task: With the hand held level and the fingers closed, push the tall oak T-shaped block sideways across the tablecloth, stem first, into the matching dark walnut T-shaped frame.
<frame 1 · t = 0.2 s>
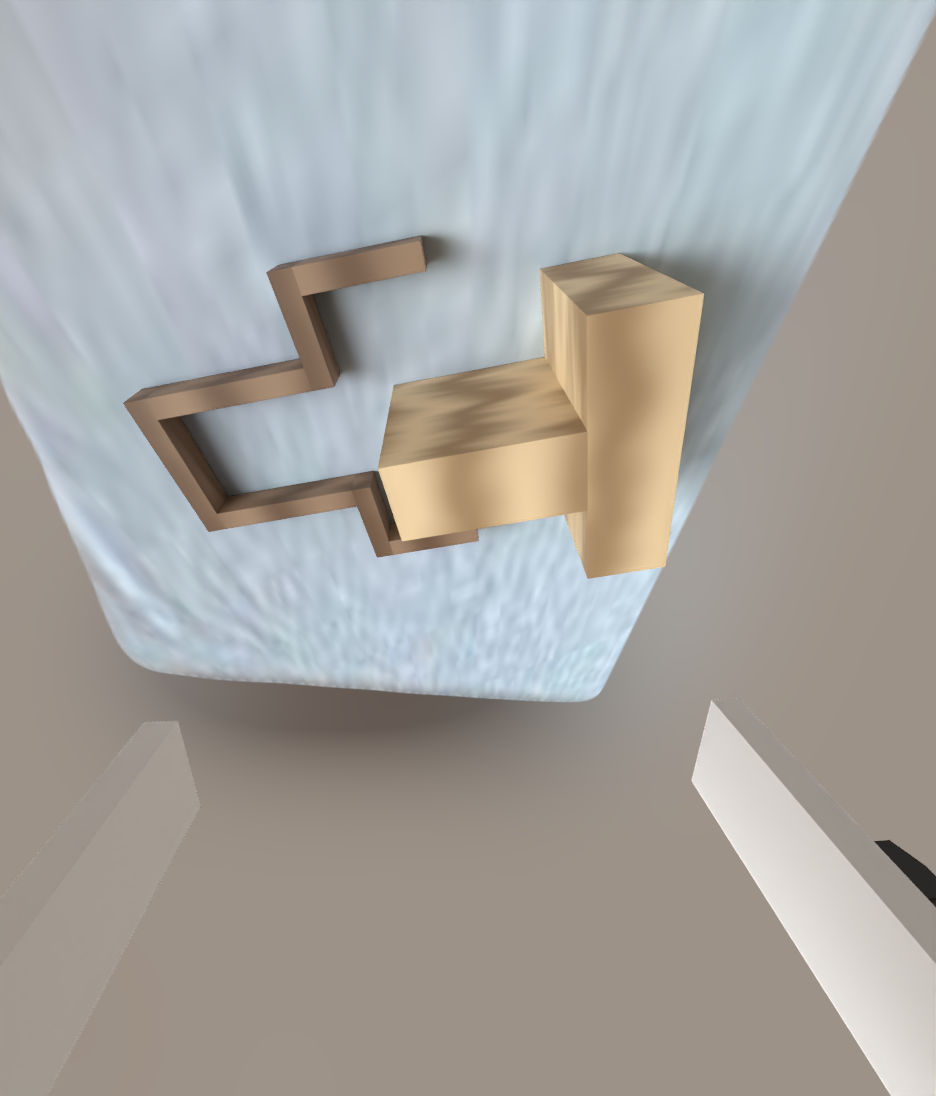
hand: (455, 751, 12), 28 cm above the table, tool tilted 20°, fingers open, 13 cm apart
oak T block: (506, 398, 35), on the table
walnut T frame: (326, 431, 36), on the table
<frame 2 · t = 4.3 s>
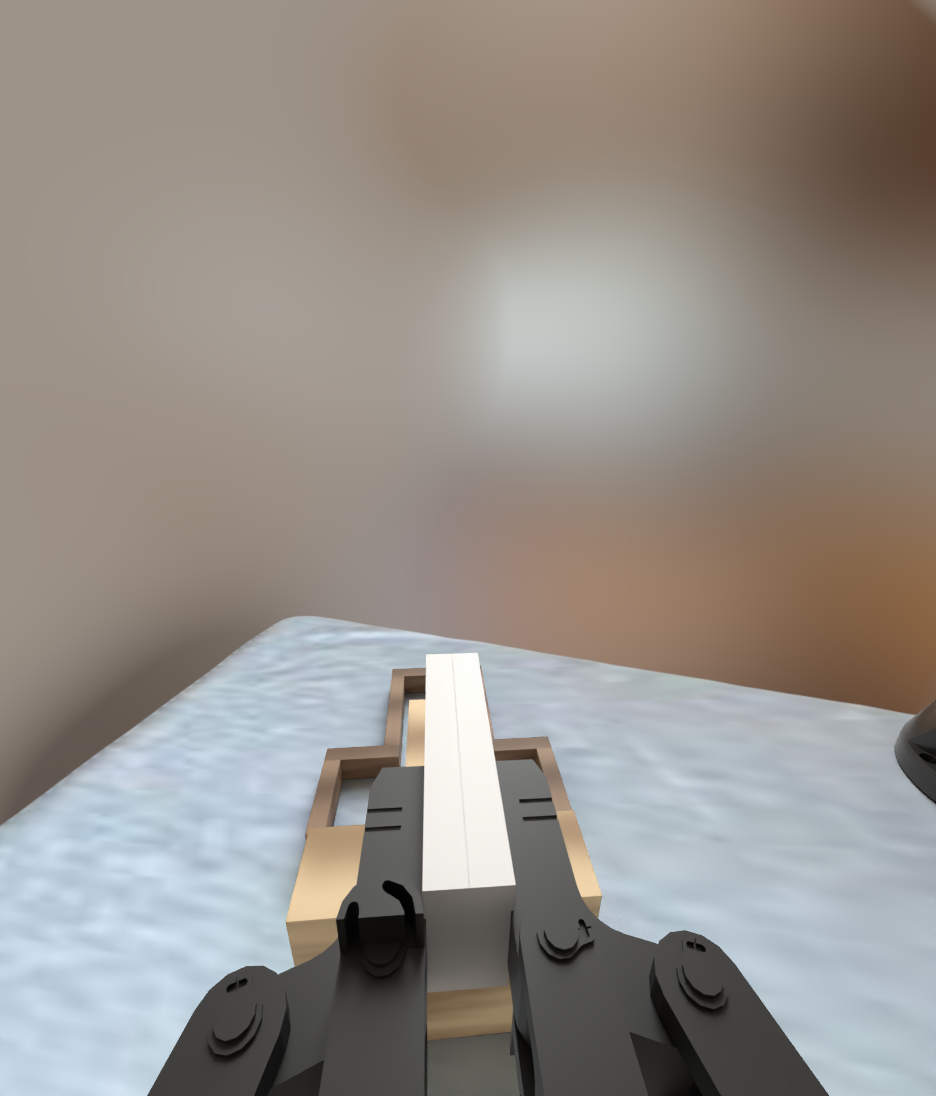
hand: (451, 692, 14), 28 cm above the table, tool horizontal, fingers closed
oak T block: (444, 896, 35), on the table
walnut T frame: (439, 754, 48), on the table
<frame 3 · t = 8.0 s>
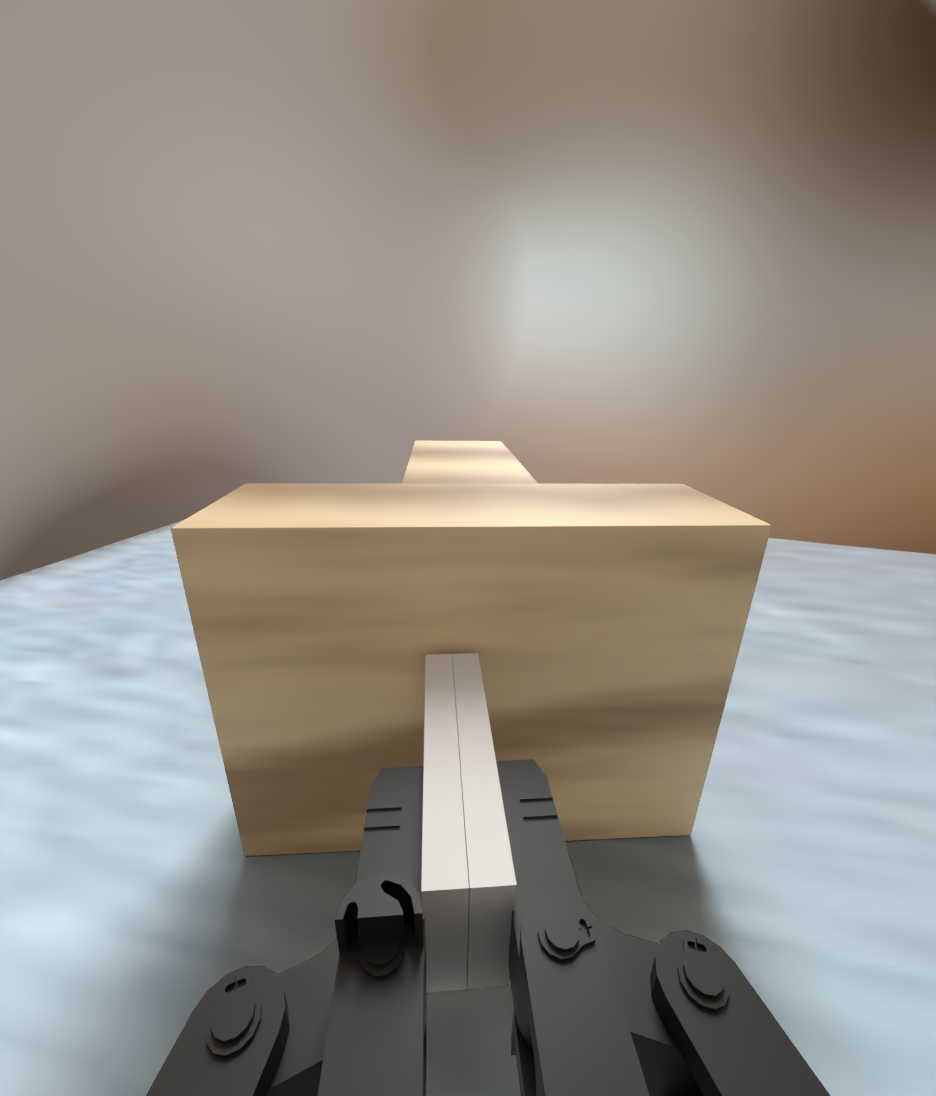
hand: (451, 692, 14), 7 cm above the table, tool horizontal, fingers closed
oak T block: (463, 698, 24), on the table, touching gripper
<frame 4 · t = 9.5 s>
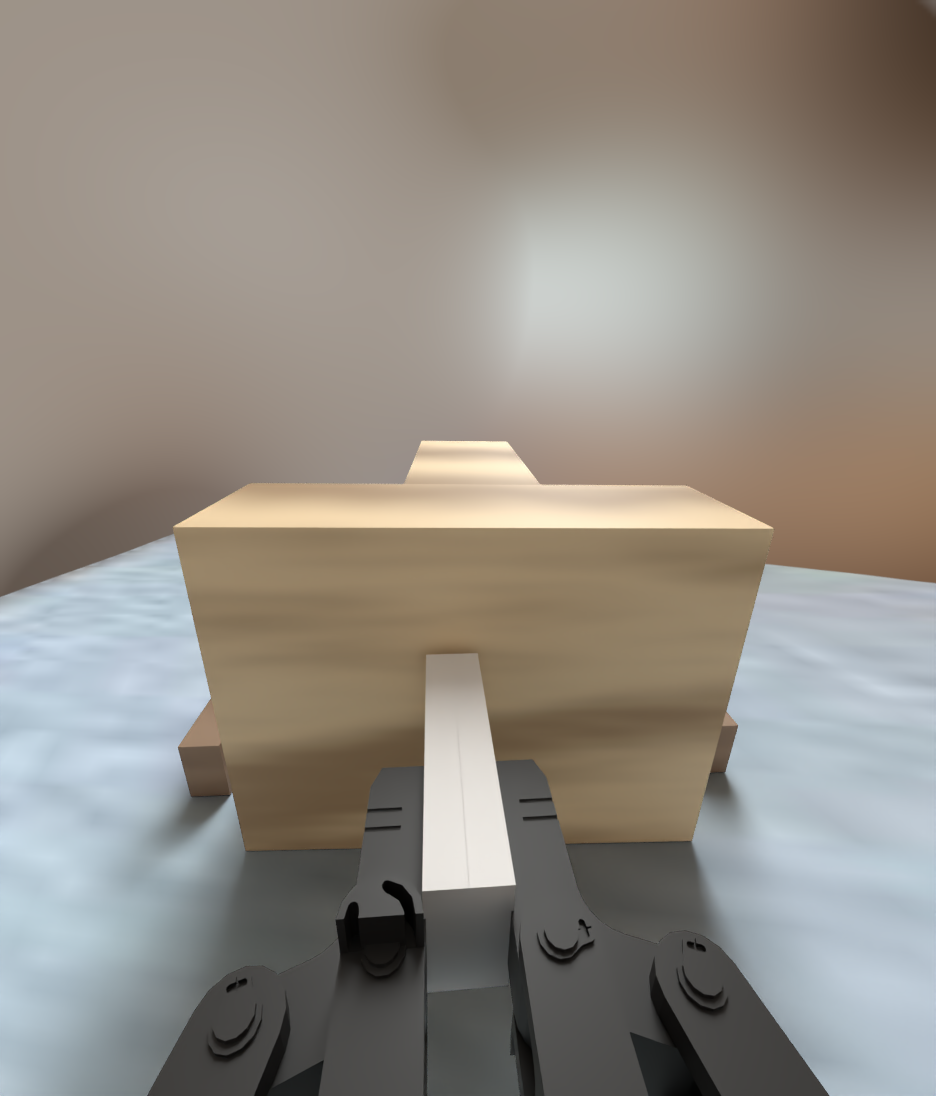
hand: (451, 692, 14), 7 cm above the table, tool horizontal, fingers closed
oak T block: (466, 698, 24), on the table, touching gripper
walnut T frame: (457, 648, 28), on the table
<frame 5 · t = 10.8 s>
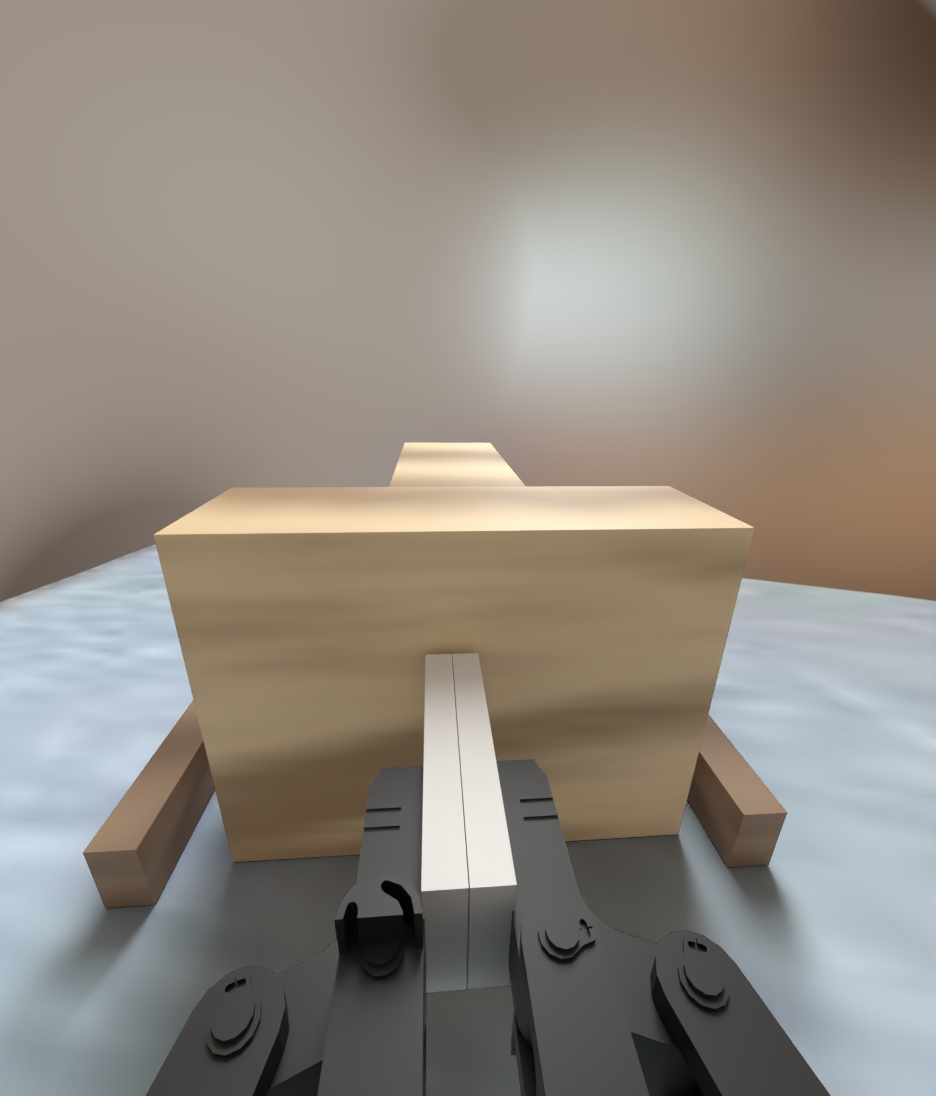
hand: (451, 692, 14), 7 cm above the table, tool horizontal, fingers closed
oak T block: (453, 699, 24), on the table, touching gripper
walnut T frame: (445, 691, 25), on the table
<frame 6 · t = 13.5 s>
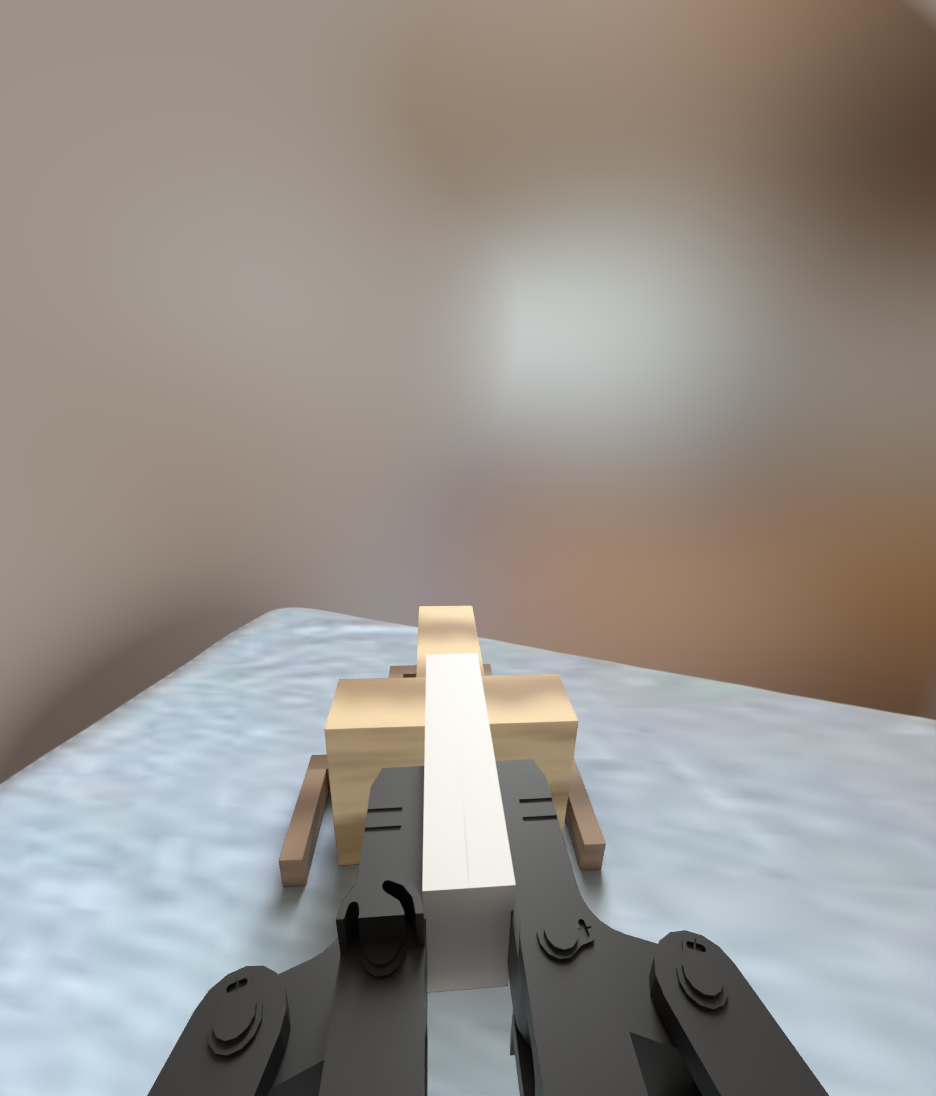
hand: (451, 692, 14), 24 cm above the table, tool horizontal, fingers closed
oak T block: (447, 770, 41), on the table
walnut T frame: (442, 764, 41), on the table
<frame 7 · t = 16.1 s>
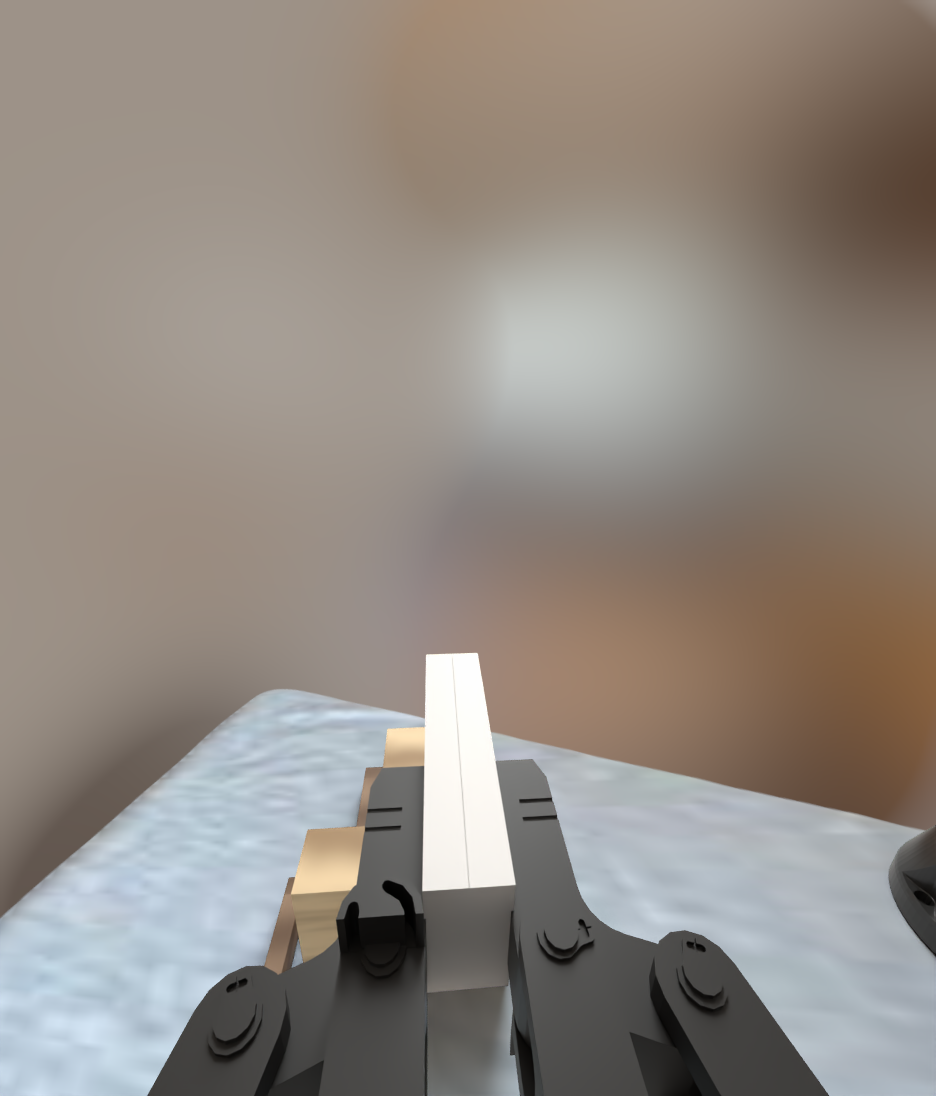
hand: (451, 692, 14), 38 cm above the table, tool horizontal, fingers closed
oak T block: (412, 884, 45), on the table
walnut T frame: (408, 877, 46), on the table
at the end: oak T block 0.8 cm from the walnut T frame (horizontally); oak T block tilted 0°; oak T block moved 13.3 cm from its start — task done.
